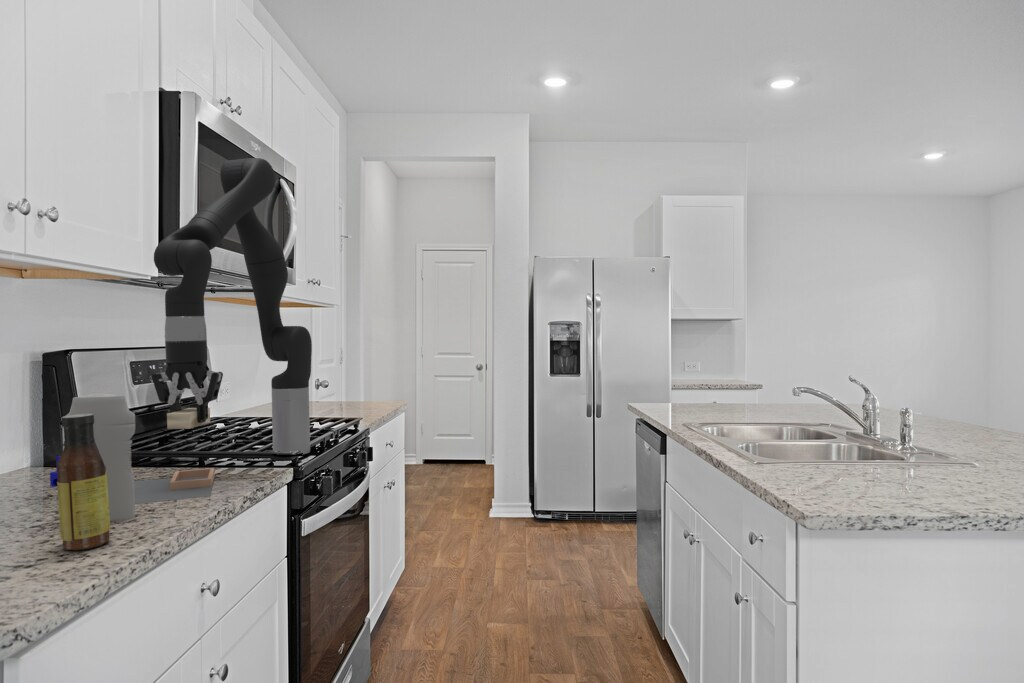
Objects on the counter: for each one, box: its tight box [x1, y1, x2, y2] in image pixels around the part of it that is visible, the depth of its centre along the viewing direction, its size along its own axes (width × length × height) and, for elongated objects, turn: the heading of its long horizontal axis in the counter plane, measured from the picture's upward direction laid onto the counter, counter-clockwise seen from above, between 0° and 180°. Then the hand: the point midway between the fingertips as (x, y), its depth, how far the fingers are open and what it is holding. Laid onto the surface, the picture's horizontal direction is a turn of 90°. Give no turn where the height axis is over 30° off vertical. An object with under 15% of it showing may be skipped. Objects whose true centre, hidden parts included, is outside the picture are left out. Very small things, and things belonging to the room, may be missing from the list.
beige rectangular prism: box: [166, 407, 211, 430], centre depth 128 cm, size 8×4×3 cm, turn 178°
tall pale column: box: [65, 392, 136, 523], centre depth 106 cm, size 11×4×22 cm, turn 106°
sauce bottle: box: [56, 414, 111, 552], centre depth 95 cm, size 7×6×20 cm
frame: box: [170, 467, 216, 490], centre depth 132 cm, size 11×8×2 cm
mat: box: [134, 473, 216, 505], centre depth 127 cm, size 20×16×1 cm
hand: (189, 422), depth 128 cm, fingers closed on beige rectangular prism, 4 cm apart
